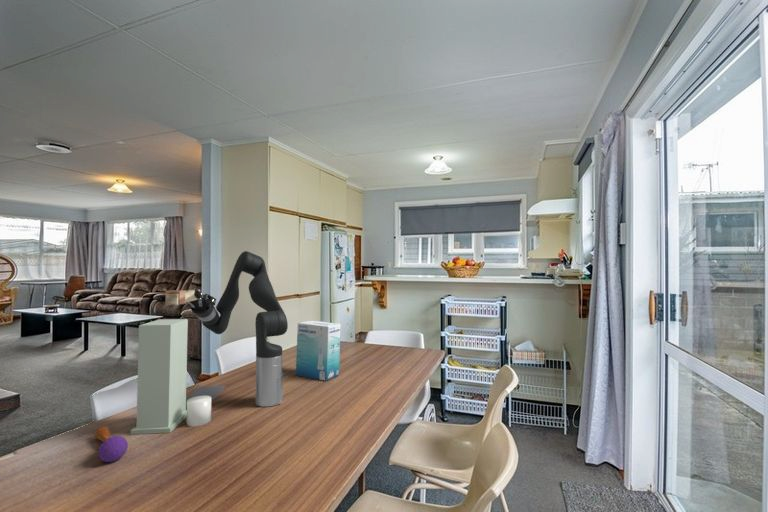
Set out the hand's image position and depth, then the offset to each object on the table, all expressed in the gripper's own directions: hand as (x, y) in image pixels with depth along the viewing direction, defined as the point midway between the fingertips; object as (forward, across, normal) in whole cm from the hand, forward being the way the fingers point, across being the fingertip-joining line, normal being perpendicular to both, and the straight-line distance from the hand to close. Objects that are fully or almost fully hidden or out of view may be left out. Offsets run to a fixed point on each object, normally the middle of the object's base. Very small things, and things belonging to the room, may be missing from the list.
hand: (189, 291), depth 131 cm
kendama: (+10, -7, +52) cm, 54 cm away
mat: (-22, +4, +34) cm, 41 cm away
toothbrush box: (-42, +46, +23) cm, 66 cm away
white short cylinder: (-4, +11, +44) cm, 46 cm away
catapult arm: (+2, 0, +5) cm, 6 cm away
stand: (-4, 0, +44) cm, 44 cm away
